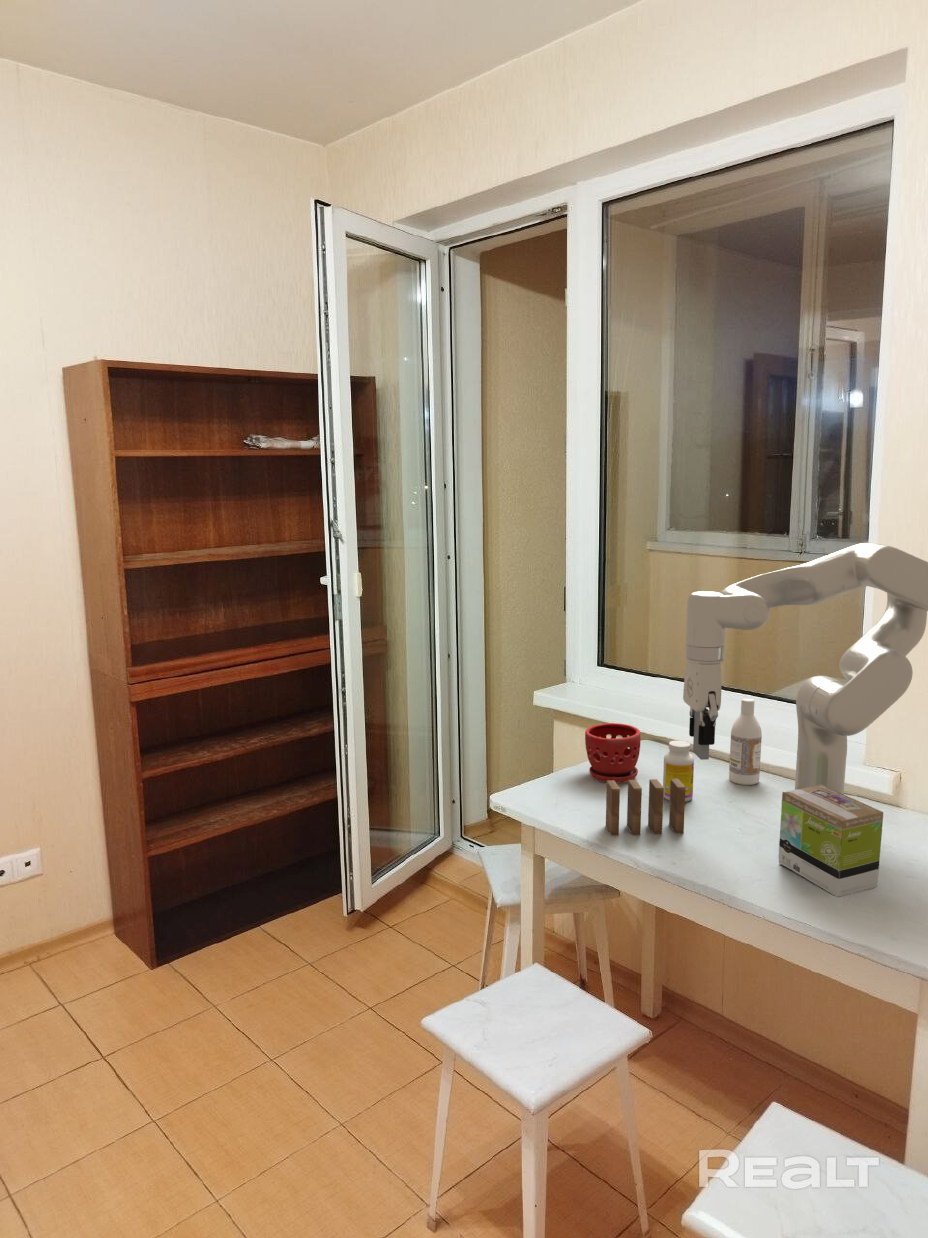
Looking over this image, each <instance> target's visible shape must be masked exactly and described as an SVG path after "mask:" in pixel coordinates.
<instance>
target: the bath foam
mask: <svg viewBox="0 0 928 1238" xmlns="http://www.w3.org/2000/svg"><path fill="white" fill-rule="evenodd" d="M740 706H741V707H740V714H739V716H737V718H736V720H735V721H734V723H733V724H732V728H731V731H730V745H729V767H728V768H729V769H728V771H729V772H728V779H729V780H730V781H731V782H732V783H734V784H737V785H742V786H751V785H757V784H758V783H759V782H760V772H761V757H762V755H761V754H762V752H761V751H762V737H763V735H762V728H761V725H760V722H759V721H758V720H757V718H756V716H755V715H754V714H755V699H753V698H749V697H748V698H747V697H746V698H741V704H740Z"/></svg>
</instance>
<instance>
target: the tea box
mask: <svg viewBox="0 0 928 1238" xmlns="http://www.w3.org/2000/svg"><path fill="white" fill-rule="evenodd" d="M781 794H782V797H781V811H780V812H781V813H780V814H781V815H780V829H779V844H778V845H779V846H778V864H779V865H781V866H784V867H785V868H787V869H789V870H791V871H793V872H794V873H796V874H798V875H799V876H801V877H803V878H805V879H807V880H808V881H810V882H811V883H812V884H815V885H816V886H818V887H820V888H821V889H822V888H823V889H822V890H824V891H826V892H828V893H829V894H831V895H832V896H833V897H835V896H836V898H840V897H845V896H848V895H847V894H849V895H851V893H852V894H855V893H859V892H864V891H867V890H871V889H874V888H877V887H878V882H879V870H880V858H881V847H882V835H883V823H884V821H883V819H884V812H883V811H881V810H879V809H878V808H876V807H875V808H874V807H872V806H870V805H868V804H866V803H864V802H861V801H859V800H857V799H855V798H852V797H850V796H848V795H847V794H846V795H845V794H841V793H839V792H837V791H835V790H833V789H830V788H828V787H826V786H824V785H821V784H820V785H816V786H811V787H807V788H802V789H797V790H795V789H794V790H789V791H782V793H781ZM844 895H845V896H844Z"/></svg>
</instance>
